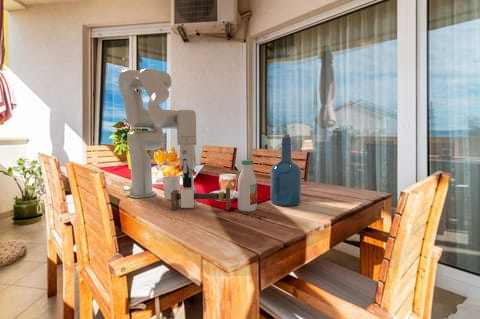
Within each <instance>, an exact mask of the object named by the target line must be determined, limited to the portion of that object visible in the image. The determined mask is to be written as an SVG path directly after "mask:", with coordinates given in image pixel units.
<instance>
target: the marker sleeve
mask: <svg viewBox="0 0 480 319" xmlns="http://www.w3.org/2000/svg"><path fill="white" fill-rule="evenodd" d="M181 174H182V183H183V173H181ZM190 176H191V188H184V187H183V186H182V188H181V189H180V193H181V199H180V207H181V208H183V209H190V208H193V209H194V208H195V205H197V202H196V201H197V199H194V193H196V186H194V173H193V172H192V173H190ZM181 208H180V209H181Z"/></svg>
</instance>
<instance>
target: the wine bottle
mask: <svg viewBox="0 0 480 319" xmlns="http://www.w3.org/2000/svg"><path fill="white" fill-rule="evenodd" d="M280 145H281V153H280V154H281V156H280V157H281V158H280V161H278V162H276V163H275V164H273V165H272V167H271V169H270V202H271V203H272V204H274V205H276V206H280V207H293V206H297V205H299V204H301V203H302V178H303V177H302V171H303V170H302V169H301V167H300V165H298V164H297V163H295V162H293V160H292V137H291V136H290V133H284V134H283V136H282V138H281V144H280Z"/></svg>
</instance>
